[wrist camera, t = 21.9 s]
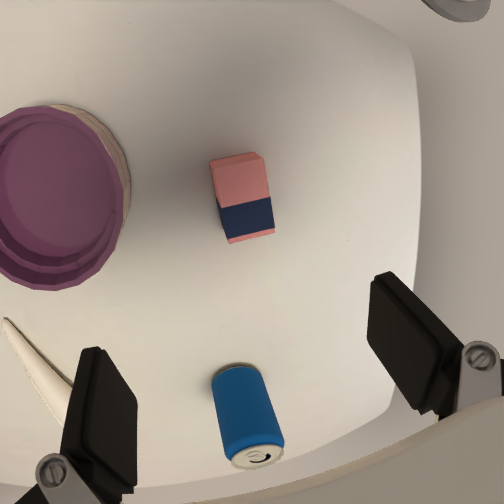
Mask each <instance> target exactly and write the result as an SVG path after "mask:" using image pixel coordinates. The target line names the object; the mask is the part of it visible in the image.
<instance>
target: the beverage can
mask: <svg viewBox="0 0 504 504" xmlns="http://www.w3.org/2000/svg"><path fill="white" fill-rule="evenodd" d="M212 391H213V397H214V402H215V407H216V412H217V418H218V423H219V428H220V433H221V437H222V442H223V447H224V452H225V455H226V457H227V459H228V460H230V461H231V464H232V466H233V467H235V468H237V469H241V470H254V469H260V468H263V467H267V466H269V465H272V464H274V463H275V462H277V461H278V460H280V459H281V458H282V456H283V454H284V451H283V447H284V438H283V435H282V433H281V430H280V427H279V424H278V421H277V418H276V416H275V413H274V410H273V407H272V404H271V401H270V398H269V395H268V393H267V390H266V387H265V384H264V381H263V378H262V375H261V374H260V372H258V371H257V370H256V369H253V368H250V367H242V366H238V367H232V368H229V369H227V370H225V371H223V372H221V373H220V374H218V375H217V376H216V377H215V379H214V380H213V382H212Z"/></svg>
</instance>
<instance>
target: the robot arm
mask: <svg viewBox="0 0 504 504" xmlns="http://www.w3.org/2000/svg"><path fill="white" fill-rule="evenodd" d="M460 1H464V2H469V1H475V0H460ZM367 341H368V343H369V345H370V347H371V348H372V350H373V351H374V352H375V354H376V355H377V357H378V358H379V360H380V361H381V363H382V364H383V366H384V367H385V369H386V370H387V372H388V373H389V375H390V376H391V377H392V379H393V380H394V382H395V383H396V385H397V386H398V388H399V389H400V391H401V392H402V394H403V395H404V397H405V398H406V400H407V401H408V403H409V404H410V406H411V407H412V409H414V410H418V411H419V413H420V414H421V415H422V414H425V413H427V412H428V411H430V410H433V411H434V413H435V414H436V419H435V424H433V425H431V426H429V427H428V428H426V429H424V430H422V431H420V432H418V433H416V434H414V435H412V436H410V437H408V438H405V439H403V440H401V441H399V442H397V443H395V444H393V445H391V446H389V447H387V448H384V449H382V450H380V451H377V452H375V453H373V454H370V455H368V456H366V457H363V458H361V459H358V460H356V461H353V462H351V463H348V464H345V465H342V466H340V467H337V468H334V469H331V470H329V471H326V472H323V473H320V474H317V475H314V476H311V477H307V478H304V479H301V480H297V481H294V482H291V483H287V484H283V485H280V486H276V487H272V488H268V489H264V490H259V491H255V492H250V493H246V494H241V495H236V496H232V497H226V498H220V499H214V500H207V501H201V502H193V503H185V504H504V359H500V356H499V353H498V351H497V350H496V348H494V347H493V346H492V345H491V344H489V343H487V342H483V341H474V342H470V343H468V344H467V345H465V346H464V345H463V344H462V343H461V342H460V341H459V340H458V338H457V337H456V336H455V335H454V334H453V333H452V332H451V331H450V330H449V329H448V328H447V327H446V326H445V325H444V324H443V322H442V321H441V320H440V319H439V318H438V317H437V316H436V315H435V314H434V313H433V312H432V311H431V310H430V309H429V308H428V307H427V306H426V305H425V304H424V303H423V302H422V301H421V300H420V299H419V298H418V297H417V296H416V295H415V294H414V293H413V292H412V291H411V290H410V289H409V288H408V287H407V286H406V285H405V284H404V283H403V282H402V281H401V280H400V279H399V278H398V277H397V276H396V275H395V274H394V273H392V272H391V271H388V272H385V273H382V274H379V275H376V276H375V278H374V281H372V282H371V285H370V302H369V315H368V327H367ZM137 410H138V404H137V399H136V397H135V395H134V394H133V392H132V391H131V389H130V388H129V386H128V385H127V383H126V382H125V380H124V379H123V377H122V376H121V374H120V373H119V371H118V370H117V368H116V366H115V365H114V363H113V362H112V360H111V358H110V357H109V355H108V353H107V352H106V350H101V348H100V347H98V346H96V347H91V348H85V349H83V350H82V352H81V356H80V360H79V364H78V368H77V372H76V376H75V380H74V385H73V389H72V391H71V394H70V398H69V403H68V408H67V413H66V418H65V424H64V429H63V435H62V441H61V447H60V454H57V453H52V454H48V455H47V456H45V457H43V458H42V459H41V460H40V461H39V463H38V465H37V467H36V472H35V475H36V481H37V484H36V485H35V486H34V487H33V488H31V489H30V490H29V491H28V492H27V493H26V494H25V495H24V496H23V497H22V498H20V499H19V500H18V501H17V502H16V503H15V504H124V503H122V494H134V486H136V485H137Z"/></svg>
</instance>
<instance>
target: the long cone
mask: <svg viewBox="0 0 504 504" xmlns="http://www.w3.org/2000/svg"><path fill="white" fill-rule="evenodd" d="M2 327H3V329H4V332H5V334H6V336H7V338H8V340H9V342H10V344H11V345H12V347H13V349H14V351H15V353H16V354H17V356H18V358H19V360H20V361H21V363H22V365H23V366H24V368H25V370H26V371H27V373H28V375H29V379H30V381H31V382H32V384H33V385H34V387H35V388H36V390H37V392H38V393H39V395H40V396H41V398H42V399H43V401H44V402H45V404H46V405H47V406H48V408H49V409H50V411H51V412H52V414H53V415H54V416H55V418H56V419H57V420H58V422H59V423H60V424H61V426H62V427H63V428H64V424H65V418H66V413H67V408H68V403H69V398H70V394H71V391H72V388H71V387H70V386H69V385H68V384H67V383H66V382H65V381H64V380H63V379H62V378H61V377H60V376H59V375H58V374H57V373H56V372H55V371H54V370H53V369H52V368H51V367H50V366H49V365H48V364H47V363H46V362H45V361H44V360H43V359H42V358H41V357H40V355H39V354H38V353H37V352H36V351H35V350H34V349H33V348H32V347H31V346H30V344H29V343H28V342H27V341H26V340H25V339H24V338H23V337H22V335H21V334H20V333H19V332H18V331H17V330H16V329H15V327H14V326H13V325H12V324H11V323H10V322H9V321H8V320H6V319H3V320H2Z"/></svg>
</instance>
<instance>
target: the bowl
mask: <svg viewBox="0 0 504 504" xmlns="http://www.w3.org/2000/svg"><path fill="white" fill-rule="evenodd" d="M129 207H130V177H129V173H128V169H127V166H126V162H125V158H124V154H123V152H122V150H121V148H120V147H119V145H118V144H117V142H116V141H115V139H114V137H113V136H112V134H111V133H110V131H109V130H108V128H106V127H105V126H104V125H103V124H101V123H100V122H99V121H98V120H96V119H95V118H94V117H93V116H91V115H90V114H89V113H87V112H85V111H82V110H79V109H76V108H73V107H70V106H66V105H63V104H62V105H47V106H35V107H25V108H19V109H17V110H15V111H13V112H11V113H9V114H7V115H5V116H3V117H1V118H0V273H1V274H3V275H4V276H5V277H7V278H8V279H9V280H11V281H13V282H15V283H18V284H20V285H23V286H25V287H28V288H30V289H33V290H47V291H58V290H62V289H66V288H69V287H73V286H77V285H80V284H81V283H83V282H84V281H85V280H87V279H88V278H90V277H91V276H93V275H94V274H96V273H97V272H98V271H100V269H101V268H102V266H103V265H104V264H105V262H106V261H107V259H108V258H109V257H110V255H111V254H112V253H113V251H114V250H115V247H116V244H117V242H118V239H119V236H120V233H121V231H122V228H123V225H124V222H125V219H126V216H127V213H128V210H129Z"/></svg>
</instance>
